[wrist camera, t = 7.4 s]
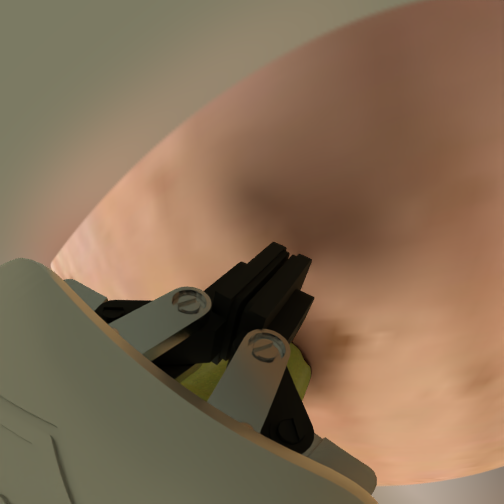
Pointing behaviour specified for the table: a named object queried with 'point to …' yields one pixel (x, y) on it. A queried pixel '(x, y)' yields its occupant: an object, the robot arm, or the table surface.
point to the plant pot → (212, 373)
